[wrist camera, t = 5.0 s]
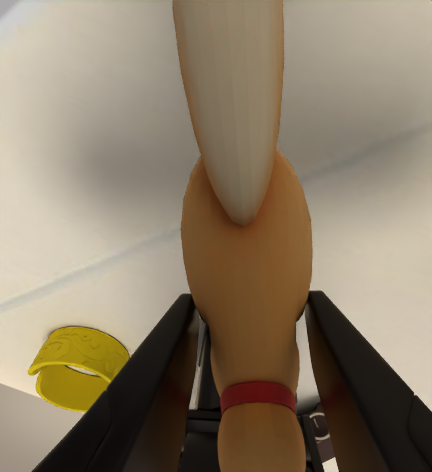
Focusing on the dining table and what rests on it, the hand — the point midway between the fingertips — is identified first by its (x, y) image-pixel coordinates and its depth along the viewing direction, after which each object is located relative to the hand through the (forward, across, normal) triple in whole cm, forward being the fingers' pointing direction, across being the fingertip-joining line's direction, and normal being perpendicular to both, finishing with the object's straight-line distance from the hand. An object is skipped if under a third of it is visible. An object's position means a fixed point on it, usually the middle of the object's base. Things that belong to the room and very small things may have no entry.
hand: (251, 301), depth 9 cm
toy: (+1, 0, 0) cm, 1 cm away
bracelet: (+10, +15, +16) cm, 24 cm away
